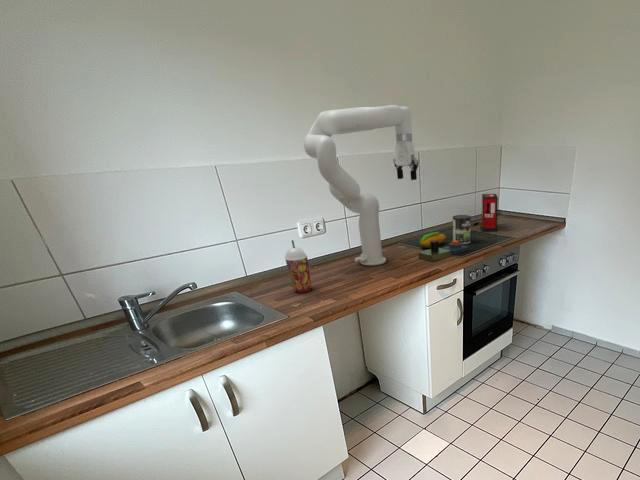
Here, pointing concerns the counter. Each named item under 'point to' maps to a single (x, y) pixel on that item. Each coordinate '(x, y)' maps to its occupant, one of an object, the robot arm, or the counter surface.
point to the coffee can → (462, 228)
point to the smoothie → (298, 269)
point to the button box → (456, 248)
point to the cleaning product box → (489, 212)
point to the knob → (434, 246)
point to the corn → (429, 237)
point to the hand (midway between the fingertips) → (407, 179)
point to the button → (455, 242)
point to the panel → (434, 254)
